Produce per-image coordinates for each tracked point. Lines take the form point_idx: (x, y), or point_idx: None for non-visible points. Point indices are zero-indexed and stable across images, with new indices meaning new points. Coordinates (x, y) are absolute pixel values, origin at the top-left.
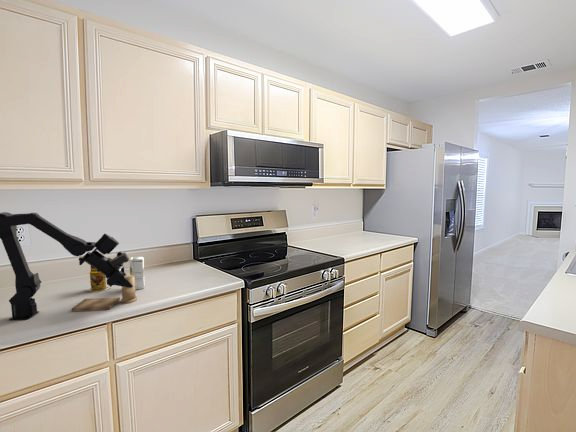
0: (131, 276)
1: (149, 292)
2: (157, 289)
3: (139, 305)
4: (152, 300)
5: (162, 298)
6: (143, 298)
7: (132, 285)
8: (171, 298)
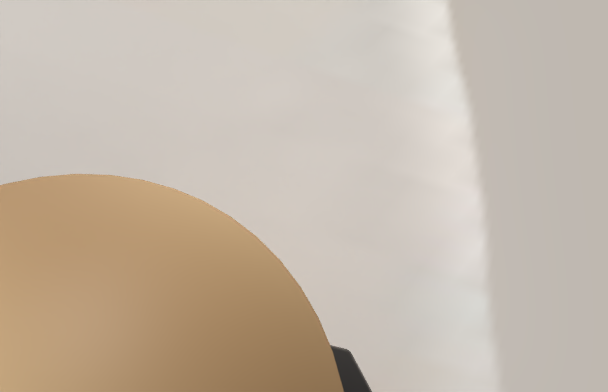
0: (176, 308)
1: (80, 101)
2: (49, 6)
3: (467, 332)
4: (387, 166)
5: (389, 73)
6: (247, 220)
7: (353, 357)
8: (443, 18)
